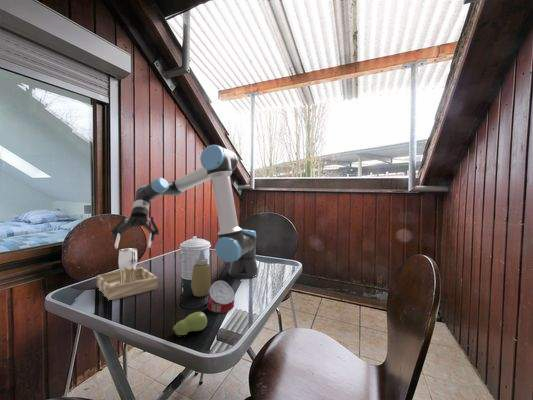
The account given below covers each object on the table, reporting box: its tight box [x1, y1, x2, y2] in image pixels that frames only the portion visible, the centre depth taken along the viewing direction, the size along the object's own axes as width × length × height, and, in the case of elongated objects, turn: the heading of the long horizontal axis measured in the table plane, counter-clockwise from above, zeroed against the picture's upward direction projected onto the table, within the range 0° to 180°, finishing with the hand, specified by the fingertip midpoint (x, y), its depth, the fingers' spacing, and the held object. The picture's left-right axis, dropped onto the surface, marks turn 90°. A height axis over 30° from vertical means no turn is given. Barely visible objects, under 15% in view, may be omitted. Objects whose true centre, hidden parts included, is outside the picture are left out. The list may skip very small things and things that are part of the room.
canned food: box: [206, 279, 236, 313], centre depth 92 cm, size 11×10×10 cm
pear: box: [172, 311, 208, 336], centre depth 75 cm, size 6×5×10 cm
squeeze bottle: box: [190, 249, 212, 298], centre depth 101 cm, size 8×8×18 cm
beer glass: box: [117, 247, 138, 285], centre depth 104 cm, size 7×7×15 cm
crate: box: [96, 266, 159, 302], centre depth 105 cm, size 18×18×5 cm
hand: (132, 246), depth 113 cm, fingers open, 13 cm apart
